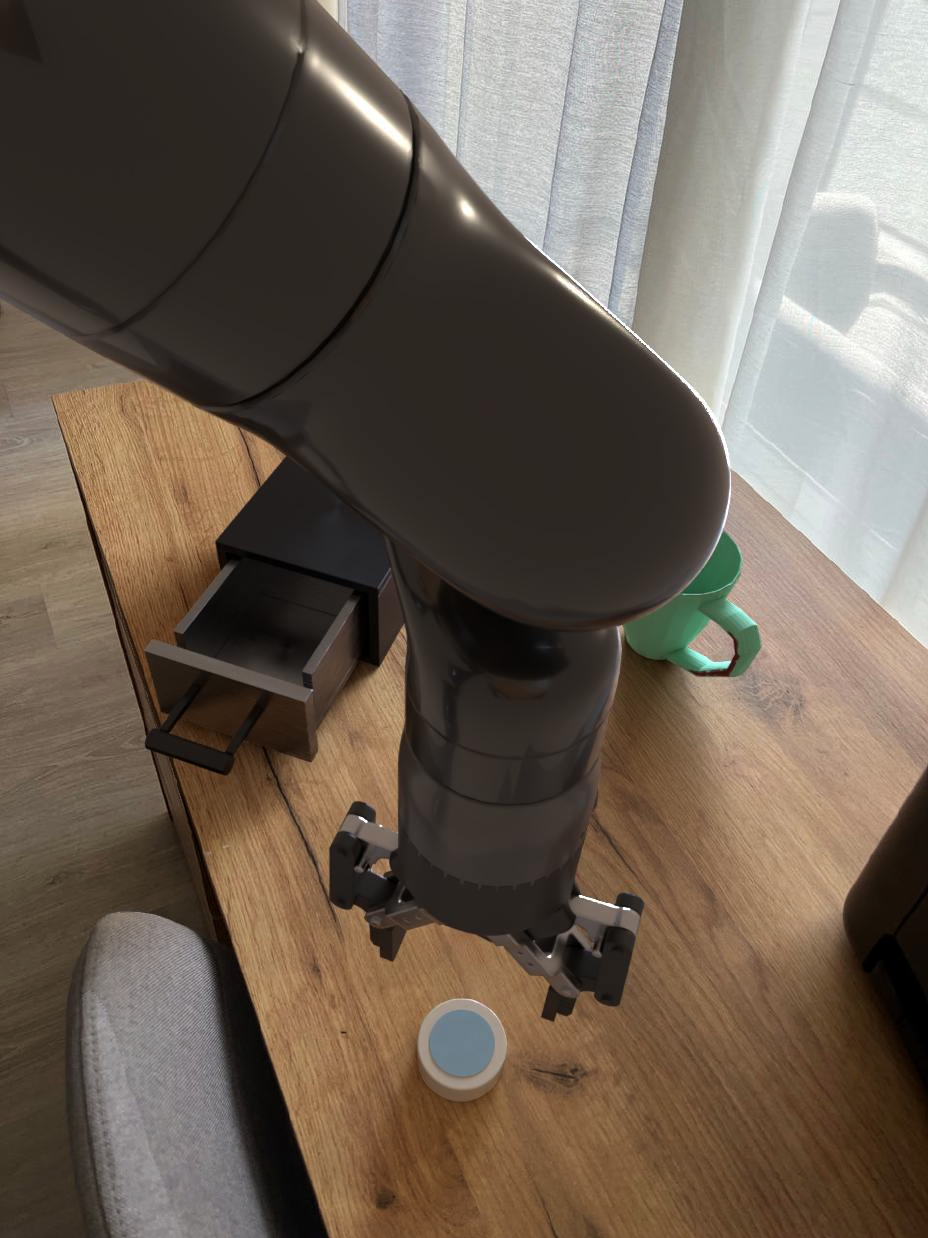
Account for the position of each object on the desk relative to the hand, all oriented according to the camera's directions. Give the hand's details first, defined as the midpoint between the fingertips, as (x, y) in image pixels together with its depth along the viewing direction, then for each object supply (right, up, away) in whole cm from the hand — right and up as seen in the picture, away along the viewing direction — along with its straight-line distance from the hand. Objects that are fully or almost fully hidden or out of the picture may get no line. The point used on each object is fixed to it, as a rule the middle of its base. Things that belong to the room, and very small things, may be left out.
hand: (472, 972), depth 49 cm
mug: (+17, +15, +31) cm, 39 cm away
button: (-1, -8, +8) cm, 11 cm away
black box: (-11, +21, +35) cm, 43 cm away
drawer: (-16, +12, +25) cm, 32 cm away
